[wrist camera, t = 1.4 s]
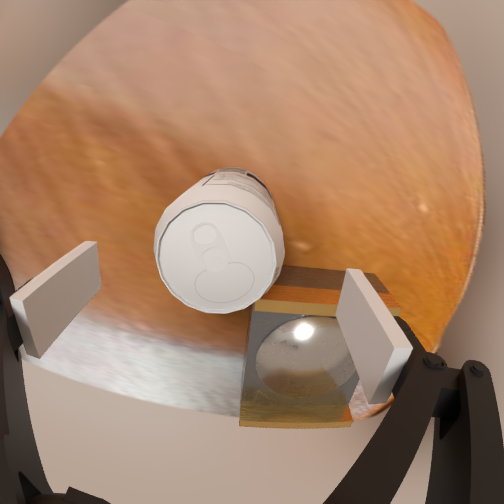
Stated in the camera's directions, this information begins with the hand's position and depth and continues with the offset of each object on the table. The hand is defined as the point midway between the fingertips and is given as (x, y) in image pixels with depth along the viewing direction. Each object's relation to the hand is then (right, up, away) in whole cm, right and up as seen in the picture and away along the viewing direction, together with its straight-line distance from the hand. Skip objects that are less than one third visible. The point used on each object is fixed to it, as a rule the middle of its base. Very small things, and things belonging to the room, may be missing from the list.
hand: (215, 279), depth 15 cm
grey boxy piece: (+8, -9, +22) cm, 25 cm away
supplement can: (0, +6, +16) cm, 18 cm away
